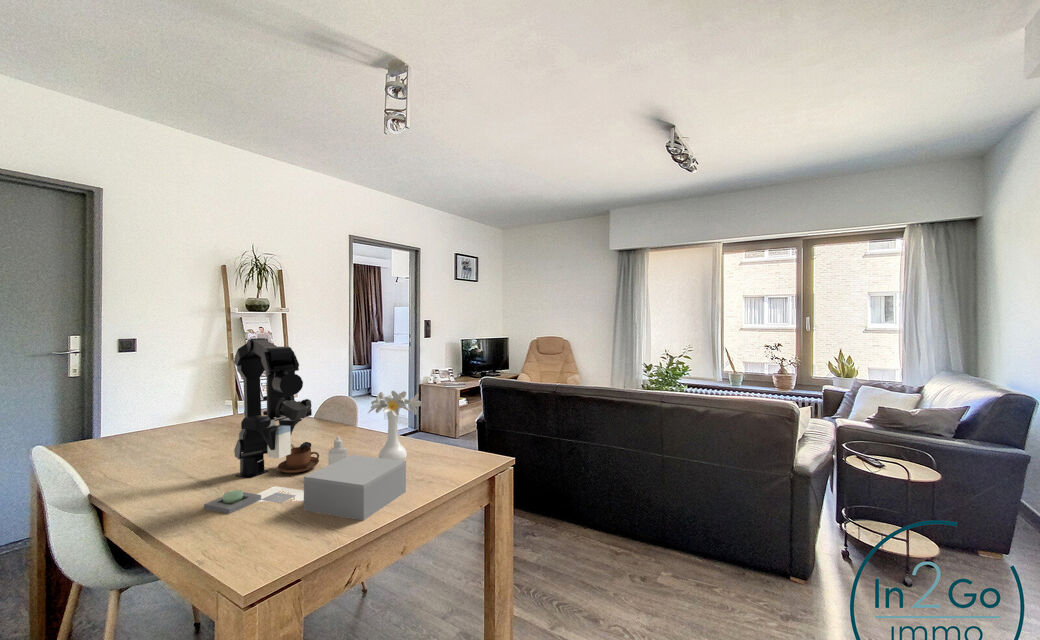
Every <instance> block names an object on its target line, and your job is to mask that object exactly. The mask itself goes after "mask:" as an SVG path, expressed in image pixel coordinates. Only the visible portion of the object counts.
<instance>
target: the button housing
mask: <svg viewBox="0 0 1040 640" xmlns="http://www.w3.org/2000/svg"><path fill="white" fill-rule="evenodd" d="M259 500H261V495H258V493H252V492H245V491H243V499H242V500H240V501H237V502H233V503H231V504H230V503H224V502H223V496H220V497H218V498H216V499H214V500H211V501H208V502H206V503H204V504H203V510H207V511H211V512H212V511H213V512H217V513H223V514H229V515H231V514H232V513H235V512H237V511H240V510H242V509H243V508H246V507H248V506H250V505H252V504H254V503H258V502H257V501H259Z"/></svg>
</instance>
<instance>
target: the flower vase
mask: <svg viewBox="0 0 1040 640" xmlns="http://www.w3.org/2000/svg"><path fill="white" fill-rule="evenodd" d="M406 396H407V392H406V391H405V390H404V391H401V392H396V391H395V390H391V393H390V394H388V395H387V396H385V394H384V392H383V391H379V393H377V396H376V398H375V399H374V400H372V401H371V403H370V404H371V406H370V409H369V411H368V412H367V414H369V413H371V412H372V411H375V413H376V414H378V413H379V412H380V411H382V410H383V413H385V414H386V415H387V421H388V422H387V425H388V426H387V439H386V440H385V441H386V442H385V444H384V446H383V447H382V448H381V449H380V450H379V452H378V456H377V458H384V459H392V460H401V461H406V458H407V456H408V454H407V448H405V447H404V446H403V445H402V443H401V442H400V439H399V434H398V433H399V432H398V417H399V415H400V409H403V410H406V411H408V412H409V413H413V414H414V415H415V416H417V415H418V408H419V407H421V406H422V404H423V403H422V400H421V401H420V400H418V398H419V396H420V395H419V393H416V394H415V395H414V397H410V399H408V398H406Z"/></svg>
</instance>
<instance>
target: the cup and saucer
mask: <svg viewBox="0 0 1040 640" xmlns="http://www.w3.org/2000/svg"><path fill="white" fill-rule="evenodd" d="M312 455H316V456H312ZM319 458H320V454H319V452H317V451H312V447H304V448H303V450H302V453H301V454H300V446H296V448H291V454H289V455H287V456H285V460H284V461H282V462H279V464H278V465H277V469H278V470H279V471H281V472H283V473H286V474H287V473H288V474H296V473H301V472H302V473H303V472H305V471H309V470H311V469H314V468H315V467H316V466H317V465H318V464H319V462H320V459H319Z"/></svg>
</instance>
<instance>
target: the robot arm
mask: <svg viewBox="0 0 1040 640" xmlns="http://www.w3.org/2000/svg"><path fill="white" fill-rule="evenodd" d="M234 365H235V366H236V372H238V373H239V375H240V377H241V378H242V380H243V406H244V407H243V408H244V410H243V411H244V413H243V414H244V417H243V419H242V420H241V423H240V424H241V425H240V427H241V428H240V429H241V430H240V431H239V434H238V439H237V440H236V441H237V442H236V443H235V446H234V449H233V450H234V452H233V453H234V458H236V459H238V460H239V472H238V473H236V474H235V477H238V478H245V479H253V478H255V477H258V476H261V475H263V474H266V473H268V472H269V470H268V469H265V459H264V458H265V454H267V455H268V446H269V448H270V450H274V449H275V432H276V430H277V428H278V427H279V426H277V425H276V422H277V421H278V425H288V426H290V428H291V435H292V433H293V431H294V428H295V426H296V425H298V424H299V423H300V422H301V421H303V419H305V418H308V417H311V416H313V415H312V414H313V413H312V412H313V411H312V410H313V409H312V400H311V399H308V398H305V399H303V400H299V401H296V400H295V395H296V394H299V393H300V391H301V390H302V389H303V386H304V380H303V379H302V377H301V376H300V375H299V374H296V372H298V371H299V370H300V369H299V367H300V363H299V361H298V358H297V355H296V354H295V351H294V350H293V349H292V348H291V346H277V345H275V344H274V343H272V342H271V341H269V340H268V339H267V338H265V337H258V338H253V337H252V338H250V339H247V341H246V343H245V344H243V345H241V346H240V347H239V348H237V350H236V353H235V356H234ZM264 372H265V373H266V395H265V396H263V397H262V395H261V394H262V393H261V391H262V390H261V377H262V375H263V374H264ZM262 399H263V401H266V410H265V411H263V412H262ZM262 413H263V415H262ZM267 445H268V446H267Z"/></svg>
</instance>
